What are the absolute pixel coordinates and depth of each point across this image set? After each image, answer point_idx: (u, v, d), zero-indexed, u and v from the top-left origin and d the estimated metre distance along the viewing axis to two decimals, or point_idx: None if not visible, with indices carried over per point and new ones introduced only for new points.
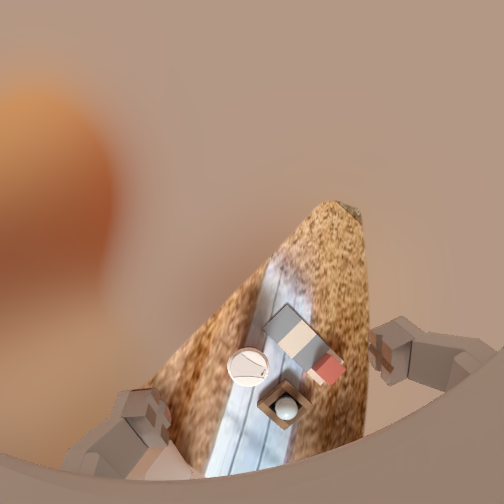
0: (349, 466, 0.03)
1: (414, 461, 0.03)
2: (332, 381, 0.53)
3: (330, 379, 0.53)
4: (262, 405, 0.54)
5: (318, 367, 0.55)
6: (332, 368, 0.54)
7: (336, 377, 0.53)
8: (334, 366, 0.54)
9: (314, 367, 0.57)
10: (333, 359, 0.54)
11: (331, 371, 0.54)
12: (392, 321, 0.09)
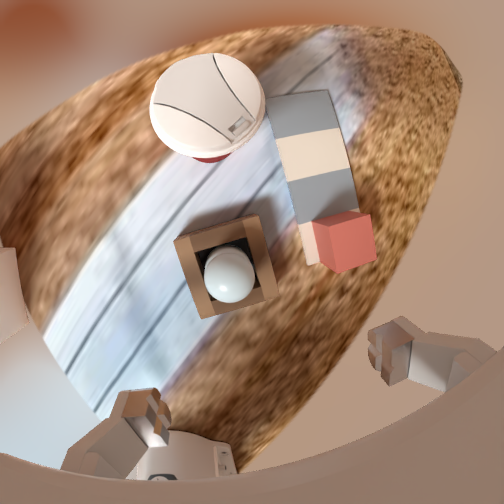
0: (350, 466, 0.03)
1: (414, 461, 0.03)
2: (344, 266, 0.27)
3: (344, 260, 0.27)
4: (185, 243, 0.27)
5: (333, 222, 0.27)
6: (357, 240, 0.27)
7: (354, 263, 0.27)
8: (363, 240, 0.27)
9: (320, 221, 0.29)
10: (368, 223, 0.26)
11: (353, 245, 0.27)
12: (392, 321, 0.09)
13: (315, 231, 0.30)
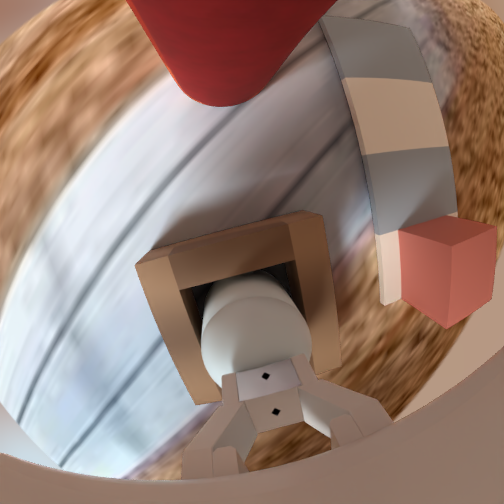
0: (349, 467, 0.03)
1: (414, 461, 0.03)
2: (457, 316, 0.12)
3: (459, 306, 0.12)
4: (160, 269, 0.12)
5: (450, 237, 0.12)
6: (479, 270, 0.12)
7: (469, 308, 0.12)
8: (485, 269, 0.12)
9: (419, 232, 0.14)
10: (493, 242, 0.11)
11: (474, 280, 0.12)
12: (288, 359, 0.09)
13: (405, 248, 0.15)
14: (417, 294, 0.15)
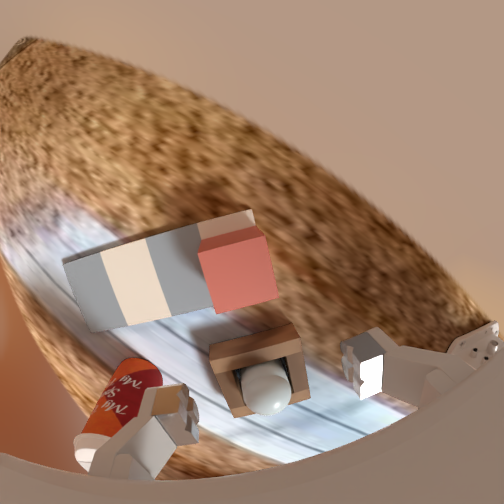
0: (349, 467, 0.03)
1: (414, 461, 0.03)
2: (270, 288, 0.21)
3: (262, 289, 0.21)
4: (236, 411, 0.27)
5: None
6: (235, 272, 0.20)
7: (267, 272, 0.20)
8: (234, 262, 0.20)
9: None
10: (211, 255, 0.20)
11: (242, 277, 0.20)
12: (365, 332, 0.09)
13: None
14: None
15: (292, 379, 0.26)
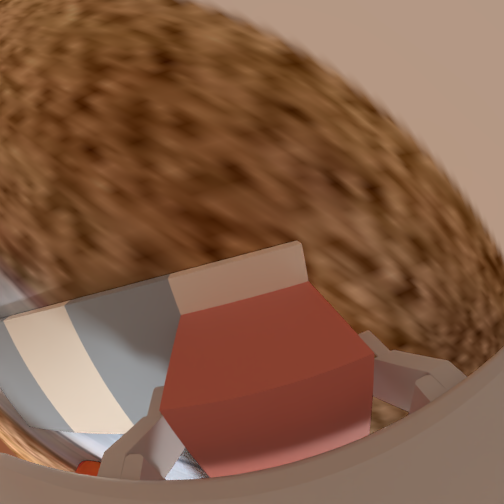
0: (349, 467, 0.03)
1: (414, 461, 0.03)
2: None
3: None
4: None
5: None
6: (274, 442, 0.06)
7: (356, 428, 0.06)
8: (275, 426, 0.06)
9: None
10: (203, 416, 0.05)
11: (293, 447, 0.06)
12: None
13: None
14: None
15: None
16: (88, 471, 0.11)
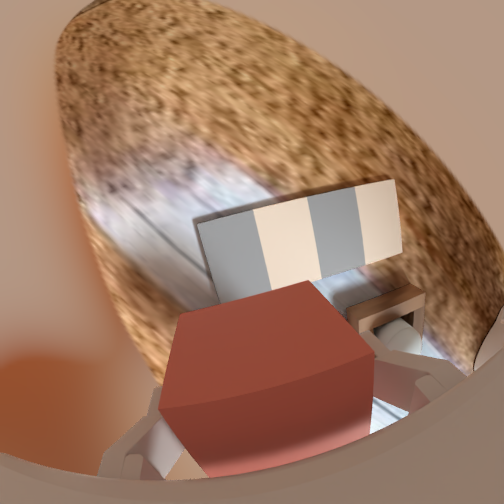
0: (349, 466, 0.03)
1: (414, 461, 0.03)
2: None
3: None
4: None
5: None
6: (274, 441, 0.06)
7: (356, 427, 0.06)
8: (274, 426, 0.06)
9: None
10: (202, 415, 0.05)
11: (292, 447, 0.06)
12: None
13: None
14: None
15: None
16: None
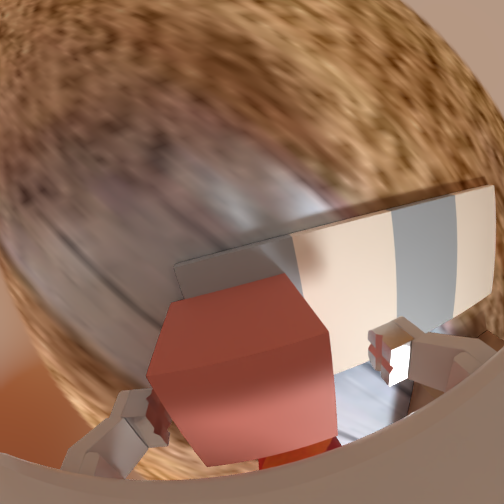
0: (349, 466, 0.03)
1: (414, 461, 0.03)
2: (324, 425, 0.08)
3: (306, 430, 0.08)
4: None
5: None
6: (246, 411, 0.07)
7: (322, 404, 0.07)
8: (244, 395, 0.07)
9: None
10: (182, 382, 0.07)
11: (263, 419, 0.07)
12: (392, 321, 0.09)
13: None
14: None
15: None
16: None
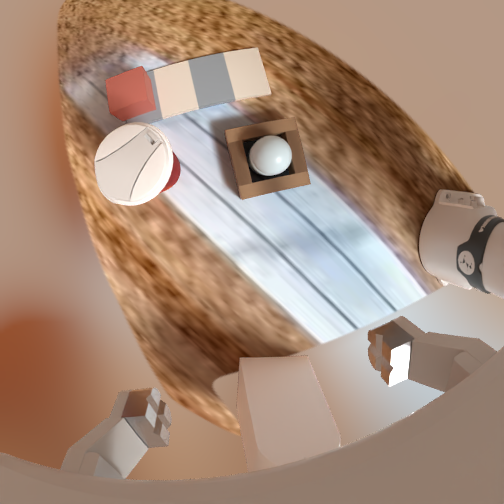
0: (349, 467, 0.03)
1: (414, 461, 0.03)
2: (142, 93, 0.26)
3: (137, 94, 0.26)
4: (244, 189, 0.33)
5: None
6: (123, 86, 0.26)
7: (141, 84, 0.26)
8: (123, 81, 0.25)
9: None
10: (112, 79, 0.25)
11: (126, 88, 0.26)
12: (392, 321, 0.09)
13: (128, 117, 0.30)
14: (145, 108, 0.29)
15: (292, 156, 0.33)
16: None
